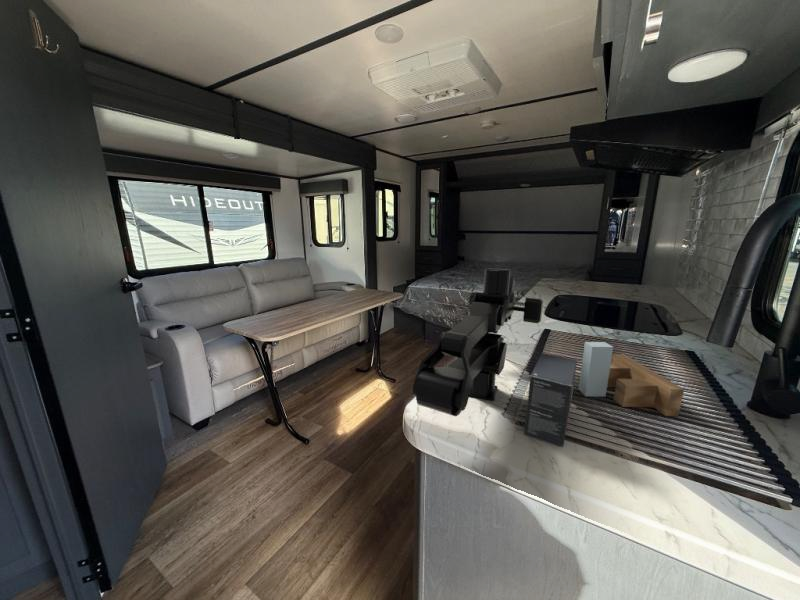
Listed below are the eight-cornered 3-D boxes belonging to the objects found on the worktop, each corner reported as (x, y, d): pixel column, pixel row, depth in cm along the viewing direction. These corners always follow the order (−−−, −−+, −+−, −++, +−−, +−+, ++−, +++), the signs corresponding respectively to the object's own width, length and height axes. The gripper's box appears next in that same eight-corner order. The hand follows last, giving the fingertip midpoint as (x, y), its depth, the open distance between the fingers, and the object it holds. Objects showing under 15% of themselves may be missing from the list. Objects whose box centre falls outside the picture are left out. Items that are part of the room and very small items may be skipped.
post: (585, 396, 71) (592, 346, 68) (578, 389, 74) (584, 342, 71) (605, 396, 71) (613, 346, 68) (597, 389, 74) (604, 342, 71)
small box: (564, 448, 54) (572, 385, 51) (523, 435, 58) (528, 376, 55) (570, 412, 65) (577, 358, 62) (535, 402, 68) (540, 351, 66)
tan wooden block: (633, 415, 64) (638, 388, 62) (584, 375, 81) (587, 353, 80) (678, 416, 63) (684, 389, 62) (619, 375, 81) (623, 354, 80)
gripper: (541, 280, 71) (548, 278, 84) (463, 274, 81) (481, 273, 94) (536, 328, 73) (544, 318, 86) (460, 317, 82) (478, 309, 95)
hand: (510, 303), depth 90 cm, fingers open, 9 cm apart
